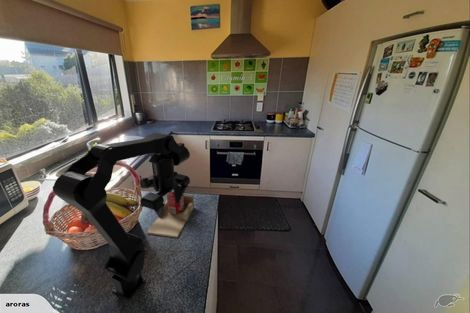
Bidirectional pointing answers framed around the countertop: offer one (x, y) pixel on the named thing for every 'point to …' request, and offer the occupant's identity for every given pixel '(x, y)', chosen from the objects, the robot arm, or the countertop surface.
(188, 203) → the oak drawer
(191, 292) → the countertop surface
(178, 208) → the soda can
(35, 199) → the countertop surface
